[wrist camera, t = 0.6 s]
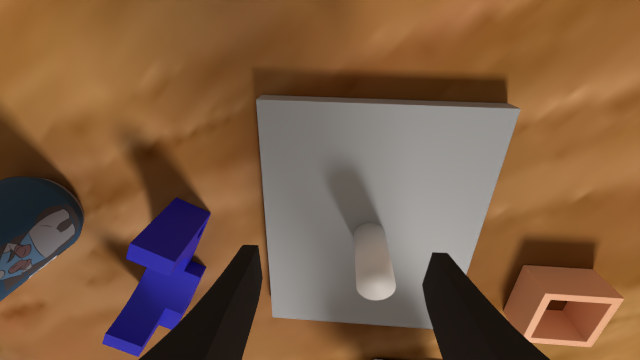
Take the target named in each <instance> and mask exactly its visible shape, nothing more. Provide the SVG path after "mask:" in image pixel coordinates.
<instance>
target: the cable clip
mask: <svg viewBox="0 0 640 360" xmlns="http://www.w3.org/2000/svg"><path fill="white" fill-rule="evenodd" d="M210 214H211V213H210V212H207V211H205V210H203V209H201V208H199V207H196V206H194V205H192V204H190V203H188V202H185V201H183V200H181V199H179V198H177V197H176V198H175V199H174V200H173V201H172V202H171V203H170V204H169V205H168V206H167V207H166V208H165V209H164V210H163V211H162V212H161V213H160V214H159V215H158V216H157V217H156V218H155V219H154V220H153V221H152V222H151V223H150V224H149V225H148V226H147V227H146V228H145V229H144V230H143V231H142V232H141V233H140V234H139V235H138V236H137V237H136V238H135V239H134V240H133V241H132V242H131V243H130V245H129V249H128V253H127V256H126V259H128V260H130V261H132V262H135V263H137V264H140V265H142V266H145V267H147V268H146V270H145V272H144V274H143V276H142V278H141V280H140V282H139V284H138V286H137V287H136V289H135V291H134V293H133V294H132V296H131V298H130V299H129V301H128V302H127V304H126V305H125V307H124V308H123V310H122V311H121V313H120V314H119V316H118V317H117V319H116V320H115V321H114V323H113V324H112V325H111V327H110V328H109V329H108V331H107V332H106V333H105V336H104V340H103V344H105V345H107V346H110V347H113V348H116V349H118V350H121V351H124V352H127V353H129V354H132V355H135V356H138V357H139V355H140V354H141V352H142V350H143V349H144V347H145V346H146V344H147V342H148V341H149V339H150V338H151V336H152V335H153V333H154V331H155V330H156V328H157V327H158V325H161V326H163V327H166V328H169V329H171V330H172V329H173V328H174V327H175V326H176V325H177V324H178V323H179V322H180V320H181V318H182V316H183V314H184V313H185V311H186V309H187V307H188V306H189V304H190V301H191V299H192V297H193V295H194V293H195V291H196V288H197V286H198V284H199V282H200V280H201V278H202V275H203V273H204V271H205V269H206V267H205V266H203V265H200V264H198V263H196V262H193V261H191V259H192V257H193V255H194V252H195V250H196V247H197V245H198V243H199V240H200V238H201V236H202V233H203V231H204V228H205V226H206V224H207V221H208V219H209V217H210Z"/></svg>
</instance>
